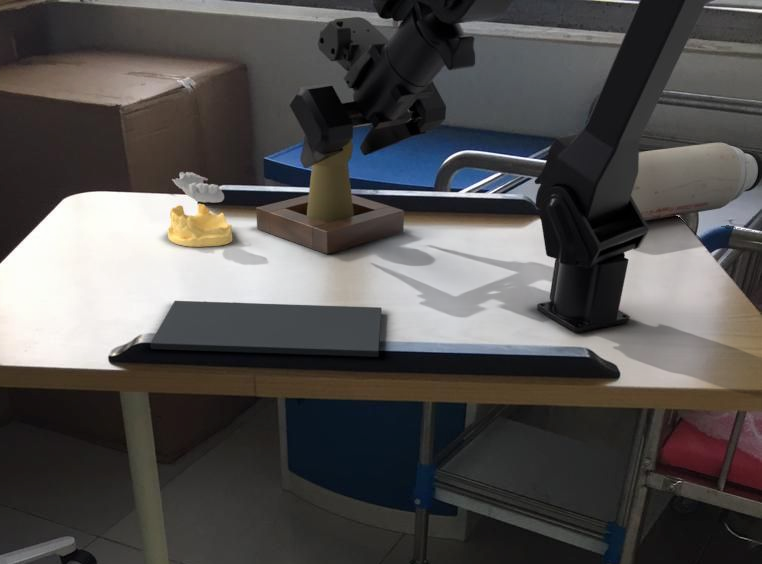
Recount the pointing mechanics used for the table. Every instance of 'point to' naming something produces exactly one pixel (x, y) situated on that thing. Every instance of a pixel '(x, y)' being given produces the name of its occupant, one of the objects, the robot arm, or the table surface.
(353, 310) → the slate mat
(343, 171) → the cork
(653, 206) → the thermos bottle
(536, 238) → the table surface
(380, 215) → the square wooden frame
